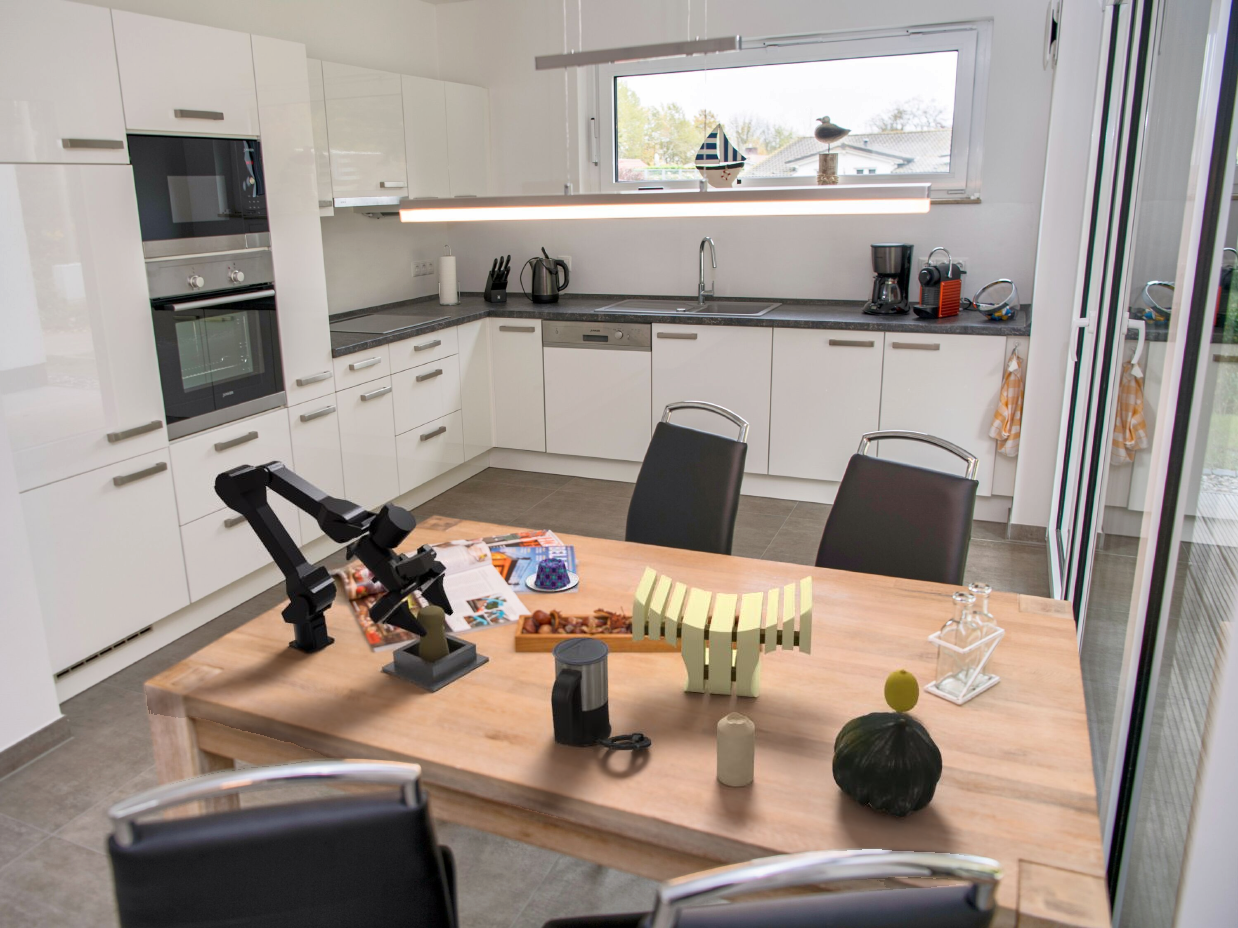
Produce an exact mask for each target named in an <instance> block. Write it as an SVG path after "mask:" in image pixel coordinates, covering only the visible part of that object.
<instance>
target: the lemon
mask: <svg viewBox="0 0 1238 928" xmlns="http://www.w3.org/2000/svg"><path fill="white" fill-rule="evenodd" d="M885 681H886V682H885V683H884V688H883V689H884V690H883V692H884V693H883V694H884V699H885V701H886V703H887V705H888V707H889V708H891V709H892V710H894V711H896V713H900V714H903V713H906V712H909V711H911V710H913V709H914V708H915V707H916V705H917V704H918V701H919V697H920V688H919V682H918V680H917V678H916V677H915V675H913V673H911V672H910V671H908V670H906V669H903V668H902V669H898V670H895V671H893V672H891V673H890V674H889V675H888V676H887V678H886V680H885Z"/></svg>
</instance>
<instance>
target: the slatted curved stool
mask: <svg viewBox="0 0 1238 928" xmlns="http://www.w3.org/2000/svg"><path fill="white" fill-rule="evenodd" d="M812 580H813V579H812V575H809V576H807V577H806V576H805V577H804V578H802V579H800V588H799V591H800V592H799V630H795V618H796V617H795V612H796V611H795V610H796V609H795V607H796V605H795V604H796V582H791V583H789V584H787V585H786V584H785V585H784V590H783V591H784V592H783V611H782V613H783V614H782V629H778V621H779V620H778V619H779V603H780V602H779V601H780V600H779V599H780V587H776V588H773V589H769V590H768V595H767V596H768V597H767V609H766V618H765V628H762V620H763V619H762V618H763V609H764V608H763V606H764V591H759V592H752V593H743V594H742V597H741V603H740V604H741V605H740V610H739V617H738V625H737V626H735V621H736V613H737V607H738V606H737V605H738V599H739V598H738V597H739V595H738V594H737V593H735V594H734V593H730V594H729V593H720V592H719V593H718V592H717V593H716V597H715V602H714V605H713V611H712V615H711V620H710V624H709V623H708V622H709V616H710V610H711V605H712V600H713V592H712V591H709V590H708V591H707V590H705V589H704V590H703V589H700V588H696V587H693V586H692V587H691V590H690V594H689V595H688V596H689V597H688V600H687V604H686V608H685V611H684V615H683V610H684V605H685V601H686V597H687V593H688V585H686V584H685V583H681V582H679V581H676V583H675V586H674V590H673V593H672V596H671V599H670V603H669V605H668V602H669V598H670V593H671V591H672V588H673V579H672V578H670V577H668V576H666V575H664V574H661V576H660V579H659V580H658V571H656V570H655V569H653V568H651V567H649V565H646V568H645V571H644V572H643V574H642V578H641V579H640V582H639V584H638V586H637V590H635V591H636V592H635V594H634V598H633V604H632V617H631V619H632V625H631V626H632V627H631V628H632V642H633V643H635V642H641V641H644V639H645V637H646V636H648V641H656V642H660V640H661V638H663V637H664V642H665V643H666V644H668V645H670V646H672V647H674V648H675V649H677V646H678V642H679V639H680V640H681V642H680V644H681V647H680V648H681V651H680V652H681V653H680V656H681V658H682V661H683V662H684V665H685V669H686V672H687V675H686V679H685V683H684V687H683V691H684V692H692V693H693V692H694V693H701V694H702V693H705V691H706V689H707V686H706V685H707V684H708V693H709V694H717V695H728V696H731V695H732V694H733V693H732V692H733V686H734V683H735V695H736V696H739V697H741V696H742V697H752V698H753V697H754V698H758V697H759V694H760V683H761V682H760V681H761V671H762V659H761V658H760V654H761V653H760V651H761V645H764V655H767V654H768V653H772V652H774V651H777V646H781V651H794V647H798V652H799V653H803V654H806V655H809V656H810V655H811V653H812V652H811V651H812V649H811V648H812V630H813V629H812V628H813V627H812V626H813V625H812V623H813V592H812V591H813V587H812ZM658 581H659V582H658ZM657 582H658V585H657ZM656 585H657V587H656ZM655 588H656V589H655ZM654 590H655V592H654ZM653 594H654V595H653ZM652 597H653V598H652ZM667 605H668V608H667ZM666 610H667V611H666ZM682 615H683V618H682ZM681 620H682V621H681ZM707 641H708V647H707ZM734 643H736V649H734ZM707 682H708V683H707Z"/></svg>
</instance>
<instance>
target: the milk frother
mask: <svg viewBox="0 0 1238 928" xmlns="http://www.w3.org/2000/svg"><path fill="white" fill-rule="evenodd" d="M551 651H552V655H553V657H554V671H555V672H554V677H555V680H554V682H553V686H552V690H551V697H550V698H551V699H550V701H551V712H552V723H553V725H552V726H553V735H554V741H555V744H559V745H563V746H575V747H589V746H595V745H600V746H602V747H603V748H606V749H610V750H613V751H635V750H636V751H637V750H644V749H647V748H649V747H651V746H652V739H651V738H649V737H648V736H645V734H644V733H643V732H633V733H632V734H620V735H615V736H612V737H609V736H610V735H611V733H612V725H611V721H610V710H609V709H610V706H609V672H608V667H609V663H608V657H609V656H608V655H609V654H610V647H609V646H608V644H607V643H606V642H604V641H602V640H600V639H597V638H593V637H573V638H572V637H571V638H568V639H565V640H562V641H560V642H558V643H557V644H555V646H554V647H553V649H552V650H551ZM623 741H630V742H629V743H618V742H623Z"/></svg>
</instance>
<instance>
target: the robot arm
mask: <svg viewBox="0 0 1238 928" xmlns="http://www.w3.org/2000/svg"><path fill="white" fill-rule="evenodd" d="M213 488H214V491H215V493H216V495H217V496H218V497H219V499H220V500H221V501H222V502H223V504H225V506H226V507H228V508H229V509H230V510H233V511H234V512H236V513H238V514H240V515H242V516H243V517H244V519H246V521H247V522H248V524H249V526H250V527H251V528H252V530H253V532H254V533H255V535H256V536H257V538H258V539H259V540H260V542H261V544H263V546H264V548H265V550H266V551H267V552H268V553H269V555H270V557H271V558H272V560H273V562H274V563H275V564H276V565H277V567H278V568H279V570H280V571H281V573H282V574H283V576H284V578H285V591H286V592H285V593H286V596H287V597H288V599H289V601H290V602H289V603H288V604H287V605H286V607H285V608H284V609H283V610H282V611H281V612H280V613H281V616H282V618H283V621H284V623H287V624H292V625H293V632H294V638H295V639H293V640H292V641H289V642H288V645H289V647H292V648H294V649H296V650H299V651H301V652H303V653H305V654H310V653H313V652H315V651H316V650H319V649H322V648H323V647H326V646H327V645H330V644H332V643H334V642H335V638H334V637H333V636H330V635H328V626H327V622H326V615H325V614H324V612H326V611H328V610H329V609H331V608H332V605H333V602H334V601H335V599H336V597H337V591H338V590H337V587H336V585H335V582H336V580H335V579H334V578H333V577H332V576H331V575H330V573H329V571H328V569H327V568H326V567H325V566H324V565H323V564H321V565H319V566H317V567H316V566H315V565H314V564H311V563H309V562H308V560H307V558H306V557H305V556H304V555H303V552H301V550H300V549H299V547H298V545H297V543H295V541H294V539H293V538H292V537H291V535H290V534H289V532H288V531H287V529H286V528H285V526H284V525H283V523H282V522H281V520H280V519H279V517H278V516H277V514H276V513H275V511H274V510H273V508H272V507H271V505H270V504H269V502H268V495H267V494H268V493H267V488H268V489H270V490H272V492H274V493H276V494H277V495H279V496H281V497H282V498H284V499H285V500H286V501H288V502H290V503H291V504H293V505H294V506H295V507H297V508H299V509H300V510H302V512H305V513H306V514H308V515H309V516H311V517H312V518H313V519H314V520H315V521H316V522H317V524H318V527H319V529H320V530H321V531H322V532H323V533H324V534H325V535H326V536H327V537H328V538H330V539H331V540H332V541H333V542H335V543H336V544H341V545H342V544H344V543H345V544H346V543H349V542H350V541H352V540H354V539H357V538H358V540H357V541H356V542H351V543H350V544H348V545H346V553H345V560H346V561H349V562H350V560H352V559H354V558H357V559H358V560H359V561H360V562H361V564H362V565H363V566H364V567H365V568H366V569H367V570H368V571H369V572H370V574H372V576H373V577H372V578H371V579H370V581H371V582H372V583H373V584H374V585H375V584H377V583H378V582H379V584H380V585H381V586H382V587H383V588H384V589H385V591H387V592H386V593H385V594H383V595H382V596H380V597H379V599H378V600H377V601H376V602H375V603H374V604H372V606H371V607H370V608H369V609H368V617H369V619H370V620H371V621H372V622H373V623H374V624H375V625H378V624H379V623H380V622H381V621H382V622H381V625H383V626H384V625H386V624H387V625H390V626H392V627H396V628H399V629H402V630H405V631H407V632H409V633H412V634H414V635H416V636H419V637H420V636H421V637H425V636H426V635H427V632H426V630H425V629H424V627H423V626H422V625H421V623H420V622H419V621H418V620H417V616H415V615H414V613H413V612H412V611H411V610H410V605H409V600H408V598H407V597H408V596H410V595H412V594H413V593H415V592H416V591H418V592H421V594H420V596H421V597H422V598H424V600H426V601H428V603H430V604H432V606H439V607H441V608H442V609H443V610H444V612H445V615H448V616H449V617H451V616H452V615H454V609H453V608H452V605H451V603H450V600H449V598H448V596H447V594H446V590H445V588H444V578H445V577H446V572H445V571H446V570H447V567H446V565H444V564H443V563H442V562H441V560H435V559H436V558H437V551H435V549H434V548H433V547H432V546H431V545H429V544H428V543H424V544H423V545H421V546H419V547H418V548H417V549H416V553H415V554H413V556H410V557H408V556H407V555H406V553H403V552H402V553H400V554H397V552H395V550H394V549H396V548H397V549H398V547H399V546H400V545H401V544H402V543H403V541H405V540H406V539H407V538H408V536H409V535H410V534H411V533H412V532H413V531H414V530H415V529H416V528H417V527H416V526H417V520H416V518H415V516H414V514H413V513H412V512H411V511H410V510H407V509H406V508H404V507H401V506H398V505H397V506H396V505H395V504H393V502H392V501H391V502H388V503H386V504H384V505H383V506H382V507H381V508H380V511H378V513H377V512H373V511H370V510H367V509H365V508H364V507H363V506H361V505H359V504H357V503H355V502H352V501H351V500H348V499H347V500H346V499H344V498H343V499H341V498H335V497H333V496H331V495H329V494H327V493H326V492H324V491H322V490H321V489H320V488H318V487H317V486H315V485H314V484H312V483H310V482H309V481H307V480H306V479H305V478H303V477H301V476H300V475H298V474H296V473H295V472H293V471H292V470H290V469H289V468H287V467H286V465H285V464H284V463H283V462H282V461H280V460H272V461H269V462H266V463H263V464H260V465H256V466H254V465H250V464H248V463H247V464H246V463H245V464H241V465H239V466H236V467H232V468H231V469H228V470H226V471H223V472H220V473H218V474H217V476H215V480H214V486H213ZM366 533H369V534H366ZM406 598H407V599H406ZM405 599H406V600H405ZM403 600H404V601H403Z"/></svg>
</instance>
